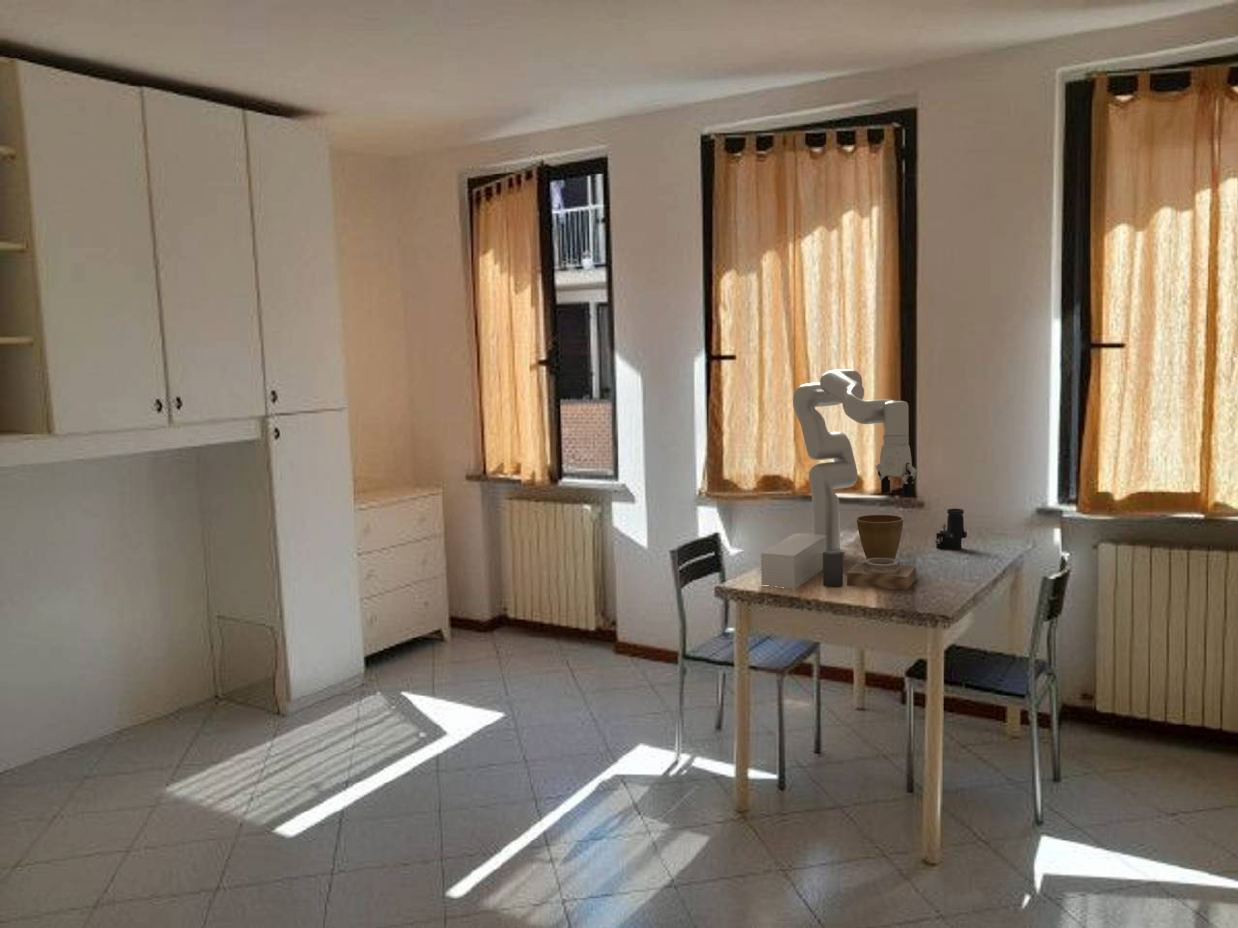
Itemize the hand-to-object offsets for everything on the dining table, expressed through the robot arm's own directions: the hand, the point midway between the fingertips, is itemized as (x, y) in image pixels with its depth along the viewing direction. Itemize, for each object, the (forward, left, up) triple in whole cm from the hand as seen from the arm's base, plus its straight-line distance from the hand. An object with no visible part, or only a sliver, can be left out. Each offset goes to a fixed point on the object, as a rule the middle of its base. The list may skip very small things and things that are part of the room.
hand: (896, 494), depth 306 cm
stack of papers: (-29, -13, -26) cm, 41 cm away
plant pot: (-7, +8, -26) cm, 28 cm away
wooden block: (-2, -13, -26) cm, 29 cm away
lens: (-15, -21, -26) cm, 36 cm away
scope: (+11, +41, -26) cm, 50 cm away
